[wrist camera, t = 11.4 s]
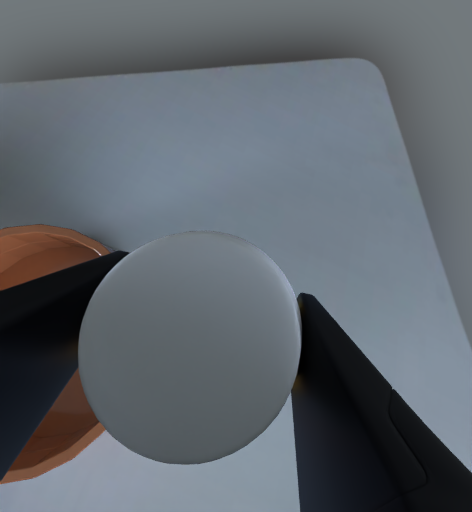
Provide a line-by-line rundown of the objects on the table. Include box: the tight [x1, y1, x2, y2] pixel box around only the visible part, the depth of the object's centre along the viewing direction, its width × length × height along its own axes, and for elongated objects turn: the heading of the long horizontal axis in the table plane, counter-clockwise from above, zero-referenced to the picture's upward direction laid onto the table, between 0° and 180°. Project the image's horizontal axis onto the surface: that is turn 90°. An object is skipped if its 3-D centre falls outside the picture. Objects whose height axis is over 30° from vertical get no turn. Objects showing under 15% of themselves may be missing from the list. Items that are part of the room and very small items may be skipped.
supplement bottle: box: [78, 231, 302, 464], centre depth 9 cm, size 6×6×10 cm
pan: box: [0, 224, 115, 484], centre depth 18 cm, size 15×15×5 cm
